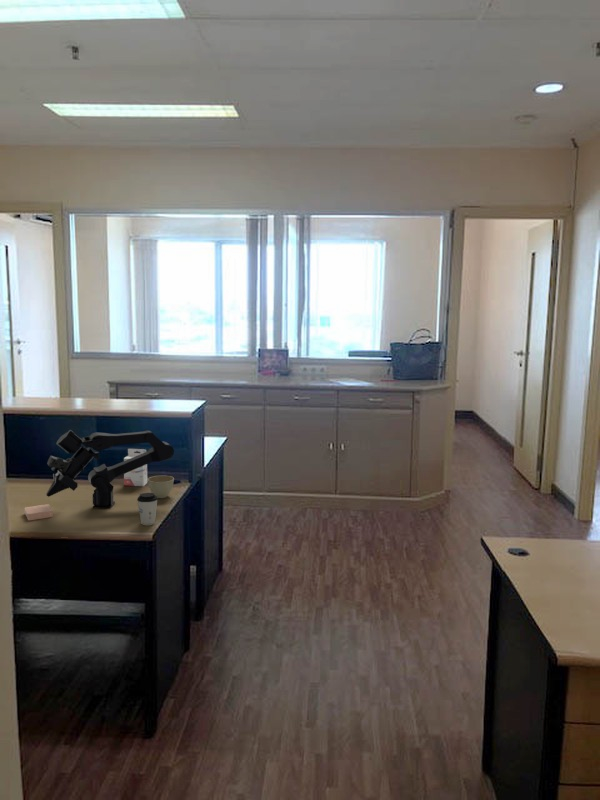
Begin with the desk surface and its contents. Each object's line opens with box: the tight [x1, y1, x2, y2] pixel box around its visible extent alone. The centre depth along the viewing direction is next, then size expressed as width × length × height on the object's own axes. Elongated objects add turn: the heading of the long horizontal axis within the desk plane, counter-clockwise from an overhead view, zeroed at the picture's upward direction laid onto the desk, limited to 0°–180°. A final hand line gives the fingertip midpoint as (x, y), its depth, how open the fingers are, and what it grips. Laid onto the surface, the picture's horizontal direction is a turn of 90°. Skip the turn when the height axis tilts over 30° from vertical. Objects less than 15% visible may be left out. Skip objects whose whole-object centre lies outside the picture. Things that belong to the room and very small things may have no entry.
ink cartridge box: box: [123, 448, 148, 487], centre depth 253 cm, size 9×5×15 cm, turn 84°
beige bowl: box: [147, 475, 175, 499], centre depth 237 cm, size 10×10×7 cm
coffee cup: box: [136, 492, 159, 526], centre depth 207 cm, size 7×7×10 cm
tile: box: [24, 503, 54, 521], centre depth 214 cm, size 3×8×8 cm
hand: (47, 495), depth 215 cm, fingers closed
